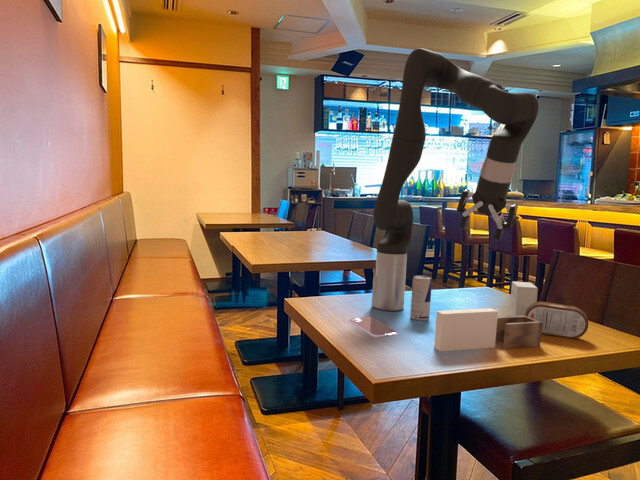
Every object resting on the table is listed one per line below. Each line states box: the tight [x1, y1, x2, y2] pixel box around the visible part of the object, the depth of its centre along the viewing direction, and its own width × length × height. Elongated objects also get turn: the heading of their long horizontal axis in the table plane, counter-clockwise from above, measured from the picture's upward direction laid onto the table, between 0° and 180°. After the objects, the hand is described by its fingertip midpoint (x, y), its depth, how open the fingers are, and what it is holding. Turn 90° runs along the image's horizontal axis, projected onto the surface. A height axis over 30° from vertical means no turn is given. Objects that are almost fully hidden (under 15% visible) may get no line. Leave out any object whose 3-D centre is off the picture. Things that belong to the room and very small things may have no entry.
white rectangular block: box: [433, 307, 499, 352], centre depth 111 cm, size 15×3×9 cm, turn 107°
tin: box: [525, 301, 589, 340], centre depth 124 cm, size 15×3×8 cm, turn 64°
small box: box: [508, 280, 539, 316], centre depth 138 cm, size 8×6×10 cm
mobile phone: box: [348, 316, 399, 338], centre depth 125 cm, size 8×1×15 cm
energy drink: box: [409, 274, 433, 322], centre depth 134 cm, size 5×5×12 cm
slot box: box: [495, 315, 543, 350], centre depth 116 cm, size 10×6×6 cm, turn 107°
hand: (479, 234), depth 123 cm, fingers open, 8 cm apart
